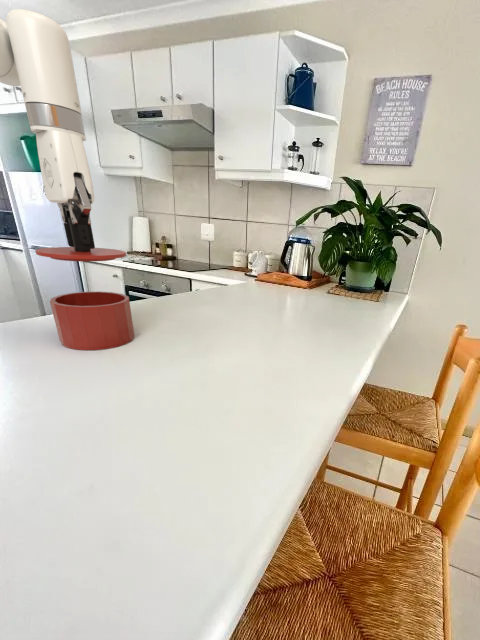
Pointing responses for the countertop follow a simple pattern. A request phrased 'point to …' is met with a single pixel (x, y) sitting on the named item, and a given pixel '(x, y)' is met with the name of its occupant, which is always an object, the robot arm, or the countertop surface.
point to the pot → (93, 320)
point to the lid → (80, 253)
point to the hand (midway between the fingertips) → (81, 246)
